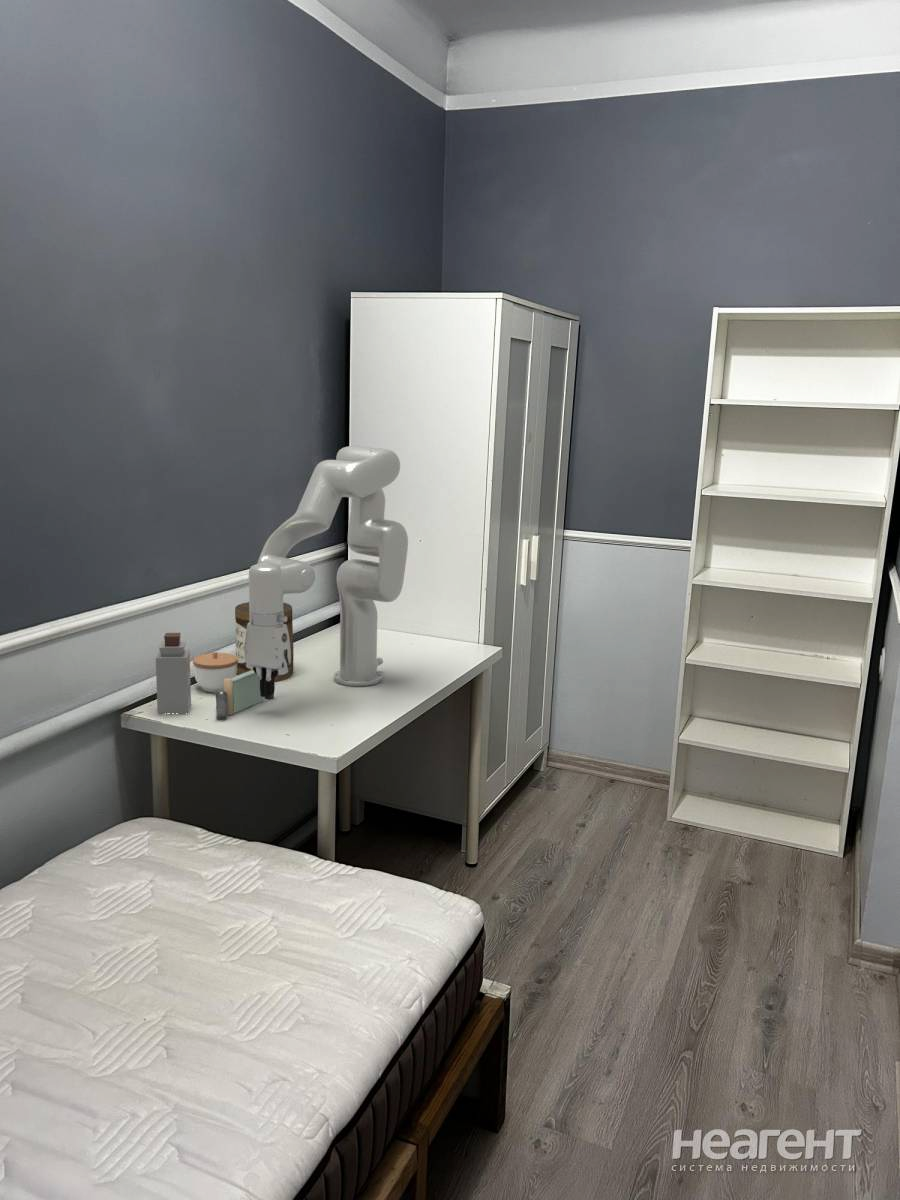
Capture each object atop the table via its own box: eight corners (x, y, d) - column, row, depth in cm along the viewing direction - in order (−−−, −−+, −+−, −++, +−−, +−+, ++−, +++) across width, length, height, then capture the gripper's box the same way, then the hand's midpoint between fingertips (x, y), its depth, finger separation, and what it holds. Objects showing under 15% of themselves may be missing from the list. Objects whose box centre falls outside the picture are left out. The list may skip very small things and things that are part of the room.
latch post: (229, 709, 218) (228, 682, 216) (241, 712, 216) (241, 685, 215) (209, 718, 212) (209, 690, 210) (222, 721, 210) (222, 693, 209)
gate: (259, 698, 226) (258, 665, 224) (265, 699, 225) (265, 666, 223) (222, 714, 214) (221, 680, 212) (229, 715, 213) (228, 681, 211)
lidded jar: (207, 679, 239) (207, 644, 237) (245, 684, 236) (245, 649, 234) (185, 692, 229) (184, 655, 227) (224, 697, 226) (223, 660, 224)
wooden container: (230, 668, 249) (229, 587, 244) (285, 663, 255) (285, 585, 250) (242, 685, 236) (241, 600, 231) (299, 679, 242) (299, 597, 237)
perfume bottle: (191, 704, 221) (189, 630, 217) (188, 714, 214) (186, 638, 210) (161, 705, 219) (158, 631, 215) (157, 714, 213) (154, 638, 209)
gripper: (303, 619, 212) (303, 696, 216) (248, 610, 218) (249, 685, 222) (285, 626, 205) (285, 705, 209) (228, 617, 211) (230, 695, 215)
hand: (267, 695), depth 215 cm, fingers closed
